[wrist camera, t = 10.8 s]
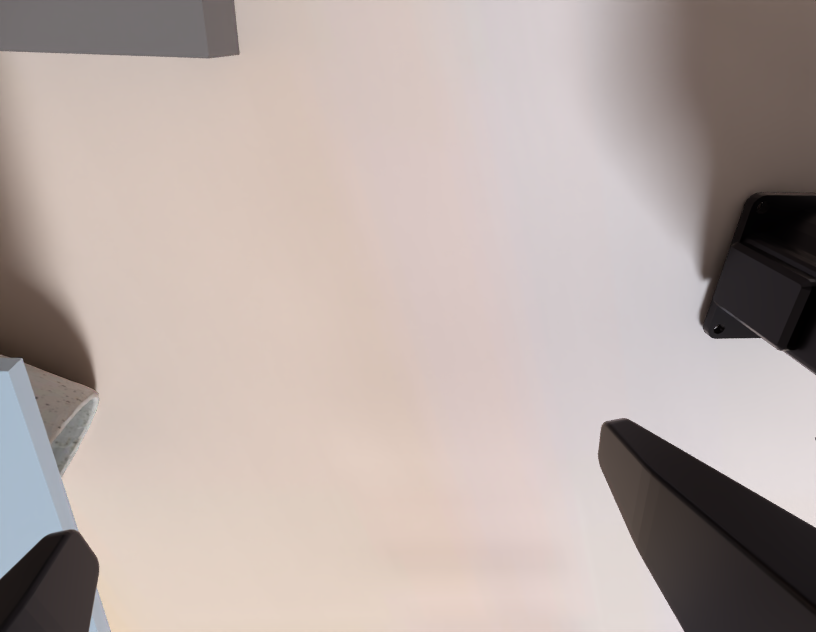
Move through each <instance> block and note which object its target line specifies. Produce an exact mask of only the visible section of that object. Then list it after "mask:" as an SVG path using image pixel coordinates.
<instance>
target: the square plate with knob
mask: <svg viewBox="0 0 816 632" xmlns="http://www.w3.org/2000/svg"><path fill="white" fill-rule="evenodd" d="M69 529H74V530H76V531H78V528H77V525H76V522H75V519H74V516H73V513H72V510H71V507H70V504H69V500H68V497H67V494H66V491H65V488H64V485H63V482H62V479H61V476H60V473H59V470H58V467H57V463H56V460H55V457H54V454H53V451H52V448H51V445H50V442H49V439H48V436H47V433H46V430H45V426H44V423H43V420H42V417H41V414H40V411H39V408H38V405H37V402H36V399H35V396H34V393H33V389H32V386H31V383H30V380H29V377H28V374H27V371H26V368H25V365H24V362H23V359H22V358H0V579H1V578H2V577H3V576H4V575H5V574H6V573H7V572H8V571H9V570H10V569H11V568H12V567H13V566H14V565H15V564H16V563H17V562H18V561H19V560H20V559H21V558H22V557H23V556H24V555H25V554H27V553H28V552H29V551H30V550H31V549H32V548H33V547H34V546H35V545H36V544H37V543H38V542H39V541H40V540H41V539H42V538H43V537H45V536H46V535H48V534H50V533H54V532H59V531H64V530H69ZM78 532H79V531H78ZM89 632H111V630H110V627H109V624H108V621H107V618H106V615H105V611H104V608H103V605H102V602H101V599H100V596H99V593H98V590H97V587H96V593H95V599H94V605H93V611H92V616H91V622H90V628H89Z"/></svg>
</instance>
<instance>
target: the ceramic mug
mask: <svg viewBox="0 0 816 632" xmlns="http://www.w3.org/2000/svg"><path fill="white" fill-rule="evenodd" d="M0 358H10V357H7V356H4V355H1V354H0ZM24 365H25V368H26V371H27V374H28V377H29V380H30V383H31V386H32V389H33V393H34V396H35V399H36V402H37V405H38V408H39V411H40V414H41V417H42V420H43V423H44V426H45V430H46V433H47V436H48V439H49V442H50V445H51V448H52V451H53V454H54V457H55V460H56V463H57V467H58V470H59V473H60V476H61V477H62V475H63V474H64V472H65V470H66V469H67V467H68V465H69V464H70V462H71V460H72V459H73V457H74V455H75V454H76V452H77V450H78V448H79V445H80V443H81V441H82V439H83V437H84V436H85V434H86V432H87V431H88V429H89V427H90V424H91V422H92V420H93V417H94V415H95V412H96V411H97V406H98V404H99V395H98V392H96V391H95V390H94V389H92V388H89V387H87V386H85V385H82V384H79V383H76V382H73V381H70V380H68V379H65V378H62V377H60V376H57V375H55V374H52V373H49V372H47V371H44V370H42V369H39V368H36V367H34V366H31V365H29V364H26V363H24Z"/></svg>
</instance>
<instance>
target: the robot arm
mask: <svg viewBox="0 0 816 632" xmlns="http://www.w3.org/2000/svg"><path fill="white" fill-rule="evenodd" d="M762 202H763V204H762V206H761V208H760V209H758V210H757V207H758V205H759V204H760V203H762ZM718 324H719V326H718V327H717V328H716V329H714V328H715V327H716V326H717V325H718ZM703 330H704V332H705V333H707V334H708V335H709V336H710V337H712V338H715V339H722V338H762V339H764V340H765V341H767V342H768V343H769V344H771V345H772V346H773V347H775V348H776V349H778V350H780V351H784V352H785V353H786V354H788V355H789V356H790V357H792V358H793V359H795V360H796V361H797V362H799V363H800V364H801V365H803V366H804V367H806V368H807V369H808V370H810V371H811V372H812V373H814V374H815V375H816V193H768V192H760V193H756V194H754V195H752V196H751V197H750V198H749V199H748V200H747V201H746V203H745V205H744V208H743V211H742V214H741V217H740V220H739V223H738V226H737V229H736V232H735V235H734V237H733V240H732V243H731V246H730V249H729V252H728V255H727V258H726V261H725V264H724V267H723V270H722V272H721V275H720V278H719V281H718V284H717V287H716V290H715V293H714V296H713V299H712V302H711V304H710V307H709V310H708V313H707V316H706V319H705V322H704V325H703ZM815 439H816V438H815ZM598 459H599V464H600V467H601V469H602V472H603V474H604V476H605V478H606V481H607V483H608V485H609V487H610V490H611V492H612V494H613V496H614V499H615V501H616V503H617V506H618V508H619V510H620V512H621V515H622V517H623V519H624V521H625V524H626V526H627V528H628V530H629V533H630V535H631V537H632V539H633V541H634V543H635V545H636V548H637V549H638V551H639V553H640V555H641V557H642V559H643V560H644V562H645V564H646V566H647V567H648V569H649V571H650V573H651V574H652V576H653V578H654V580H655V581H656V583H657V585H658V587H659V588H660V590H661V592H662V594H663V595H664V597H665V599H666V600H667V602H668V604H669V606H670V607H671V609H672V611H673V613H674V614H675V616H676V618H677V620H678V621H679V623H680V625H681V627H682V628H683V630H684V632H816V528H815V527H813V526H812V525H810V524H808V523H807V522H805V521H803V520H801V519H800V518H798V517H796V516H794V515H793V514H791V513H789V512H788V511H786V510H784V509H782V508H781V507H779V506H777V505H776V504H774V503H772V502H770V501H769V500H767V499H765V498H763V497H762V496H760V495H758V494H757V493H755V492H753V491H751V490H750V489H748V488H746V487H745V486H743V485H741V484H739V483H738V482H736V481H734V480H733V479H731V478H729V477H727V476H726V475H724V474H722V473H720V472H719V471H717V470H715V469H714V468H712V467H710V466H708V465H707V464H705V463H703V462H702V461H700V460H698V459H696V458H695V457H693V456H691V455H689V454H688V453H686V452H684V451H683V450H681V449H679V448H677V447H676V446H674V445H672V444H671V443H669V442H667V441H665V440H664V439H662V438H660V437H659V436H657V435H655V434H653V433H652V432H650V431H648V430H646V429H645V428H643V427H641V426H640V425H638V424H636V423H634V422H633V421H631V420H629V419H626V418H621V419H616V420H611V421H606V422H604V423H603V425H602V427H601V433H600V442H599V450H598ZM98 576H99V562H98V559H97V557H96V555H95V554H94V552H93V551H92V550H91V548H90V547H89V545H88V544H87V542H86V541H85V540H84V538H83V537H82V535H81V534H80V533H79V532H78V531H76V530H74V529H69V530H64V531H59V532H54V533H50V534H48V535H46V536H45V537H43V538H42V539H41V540H40V541H39V542H38V543H37V544H36V545H35V546H34V547H33V548H32V549H31V550H30V551H29V552H28V553H27V554H25V555H24V556H23V557H22V558H21V559H20V560H19V561H18V562H17V563H16V564H15V565H14V566H13V567H12V568H11V569H10V570H9V571H8V572H7V573H6V574H5V575H4V576H3V577H2V578H1V579H0V632H89V628H90V622H91V616H92V611H93V605H94V599H95V593H96V587H97V582H98Z"/></svg>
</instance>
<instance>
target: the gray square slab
mask: <svg viewBox="0 0 816 632" xmlns="http://www.w3.org/2000/svg"><path fill="white" fill-rule="evenodd" d="M0 51H16V52H45V53H74V54H102V55H131V56H160V57H188V58H215V57H223V56H231V55H239V44H238V35H237V25H236V16H235V6H234V0H0Z"/></svg>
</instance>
